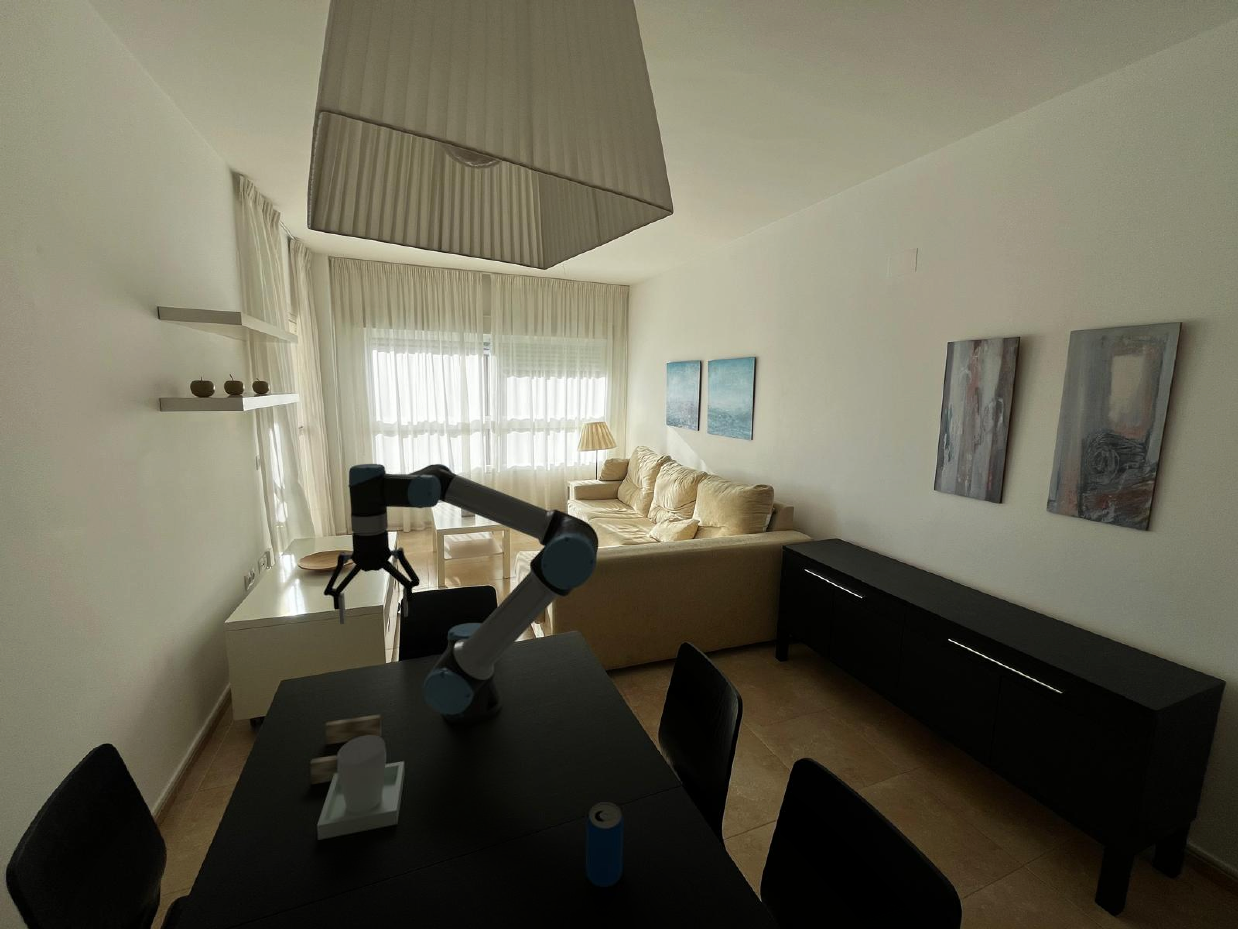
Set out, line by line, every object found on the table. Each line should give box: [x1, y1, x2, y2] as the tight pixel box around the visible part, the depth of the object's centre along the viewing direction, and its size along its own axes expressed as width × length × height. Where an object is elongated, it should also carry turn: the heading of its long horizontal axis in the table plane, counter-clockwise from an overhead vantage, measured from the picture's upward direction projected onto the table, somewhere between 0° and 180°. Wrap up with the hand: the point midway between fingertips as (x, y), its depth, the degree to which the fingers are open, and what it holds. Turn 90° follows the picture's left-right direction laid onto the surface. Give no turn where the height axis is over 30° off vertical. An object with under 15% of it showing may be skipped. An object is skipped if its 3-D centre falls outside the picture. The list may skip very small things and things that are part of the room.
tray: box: [316, 761, 406, 841], centre depth 107 cm, size 14×14×3 cm
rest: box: [309, 713, 382, 785], centre depth 121 cm, size 12×14×5 cm
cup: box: [337, 735, 387, 814], centre depth 107 cm, size 9×9×12 cm
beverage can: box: [585, 801, 624, 888], centre depth 93 cm, size 6×6×12 cm
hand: (375, 618), depth 123 cm, fingers open, 13 cm apart
